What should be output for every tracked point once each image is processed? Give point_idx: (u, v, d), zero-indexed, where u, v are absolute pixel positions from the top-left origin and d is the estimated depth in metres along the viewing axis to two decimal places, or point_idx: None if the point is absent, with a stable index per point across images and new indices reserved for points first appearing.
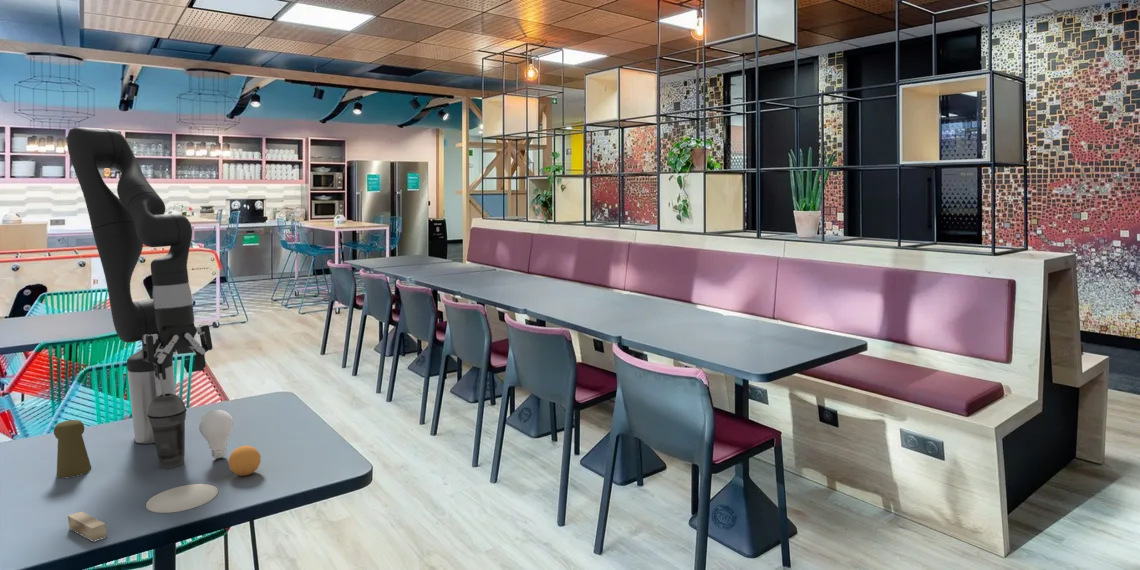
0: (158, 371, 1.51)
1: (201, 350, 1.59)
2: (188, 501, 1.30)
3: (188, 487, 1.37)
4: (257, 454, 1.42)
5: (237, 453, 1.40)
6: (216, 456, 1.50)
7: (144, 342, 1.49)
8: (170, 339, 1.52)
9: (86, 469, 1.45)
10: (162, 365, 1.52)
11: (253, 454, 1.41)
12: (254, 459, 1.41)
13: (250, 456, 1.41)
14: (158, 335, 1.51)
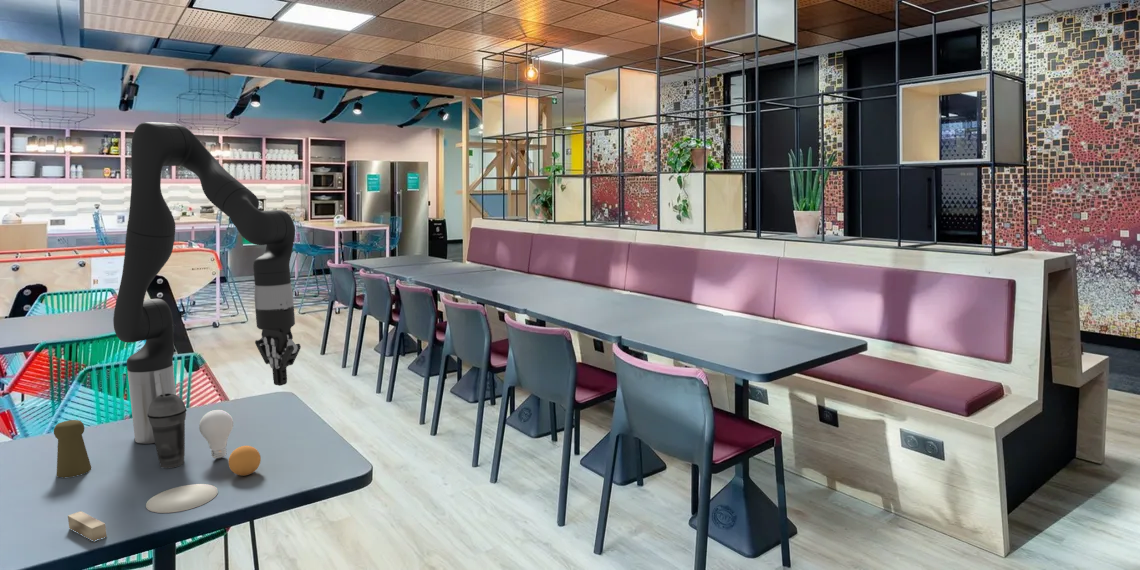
0: None
1: None
2: (188, 501, 1.30)
3: (188, 487, 1.37)
4: (257, 454, 1.42)
5: (237, 453, 1.40)
6: (216, 456, 1.50)
7: (293, 352, 1.44)
8: None
9: (86, 469, 1.45)
10: None
11: (253, 454, 1.41)
12: (254, 459, 1.41)
13: (250, 456, 1.41)
14: (291, 339, 1.45)
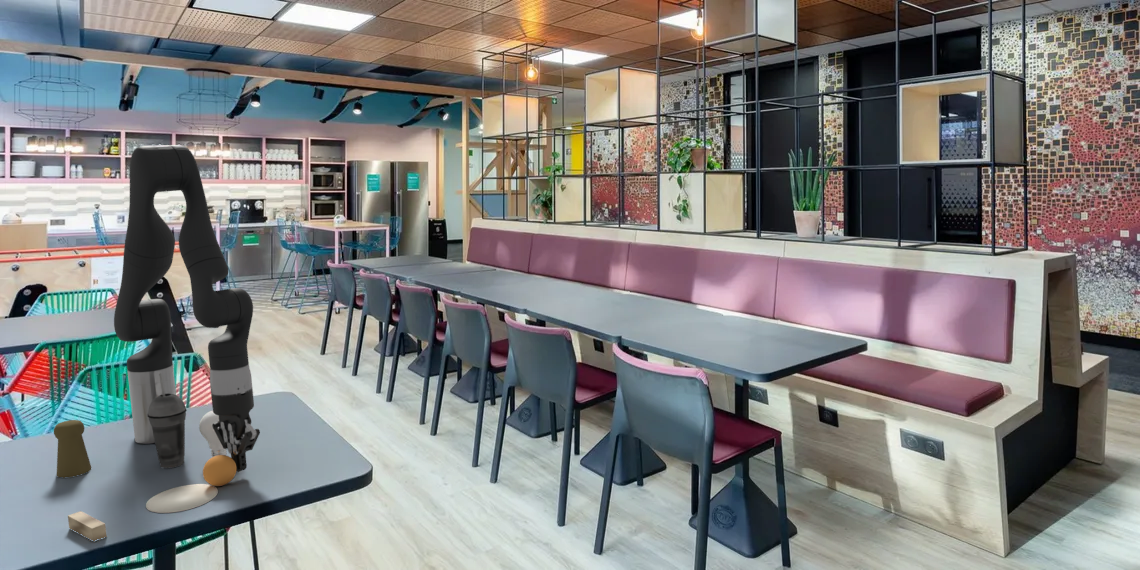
0: None
1: None
2: (188, 501, 1.30)
3: (188, 487, 1.37)
4: (223, 465, 1.36)
5: (208, 480, 1.35)
6: None
7: (252, 438, 1.37)
8: None
9: (86, 469, 1.45)
10: None
11: (221, 470, 1.35)
12: (226, 472, 1.36)
13: (221, 475, 1.35)
14: (250, 424, 1.38)
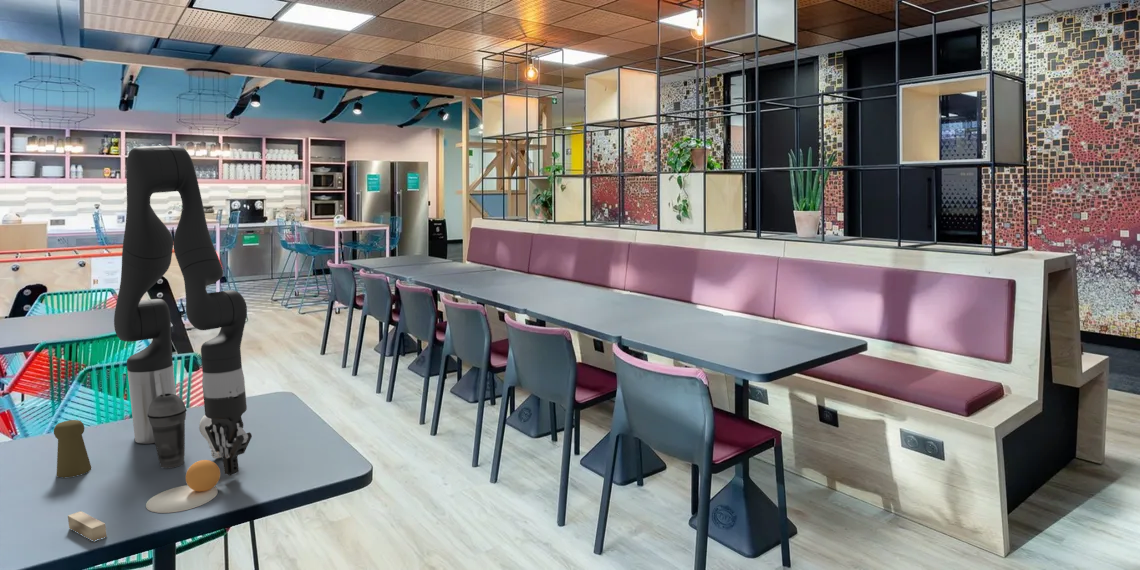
0: None
1: None
2: (188, 501, 1.30)
3: (188, 487, 1.37)
4: (200, 478, 1.32)
5: None
6: (216, 456, 1.50)
7: (243, 442, 1.36)
8: None
9: (86, 469, 1.45)
10: None
11: (203, 482, 1.33)
12: (208, 479, 1.33)
13: (207, 484, 1.33)
14: (242, 427, 1.37)
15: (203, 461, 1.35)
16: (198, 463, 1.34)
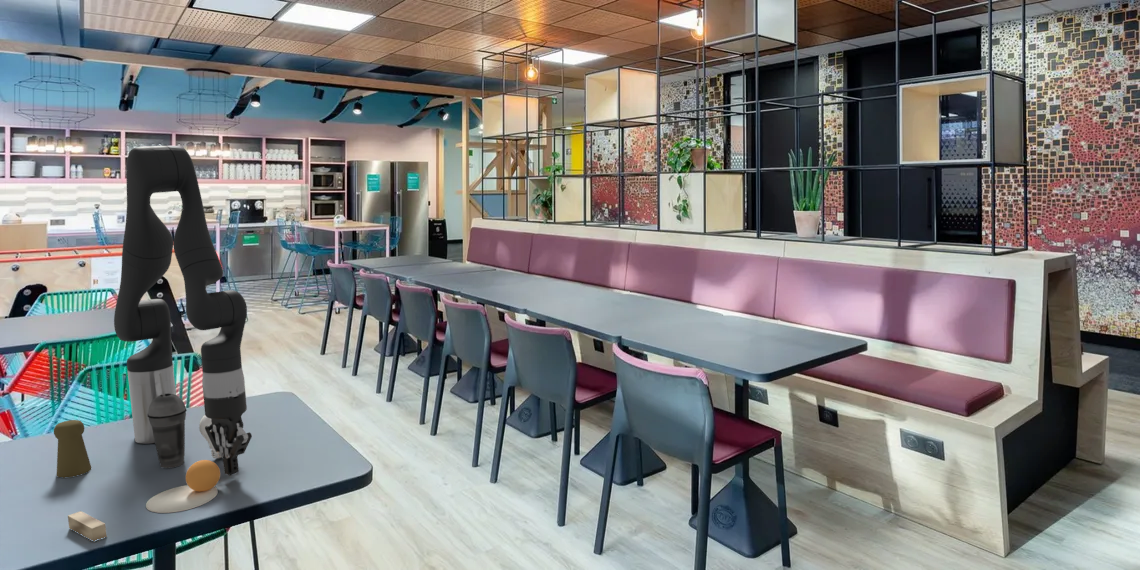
0: None
1: None
2: (188, 501, 1.30)
3: (188, 487, 1.37)
4: (200, 478, 1.32)
5: None
6: (216, 456, 1.50)
7: (243, 442, 1.36)
8: None
9: (86, 469, 1.45)
10: None
11: (203, 482, 1.33)
12: (208, 479, 1.33)
13: (207, 484, 1.33)
14: (242, 427, 1.37)
15: (203, 461, 1.35)
16: (198, 463, 1.34)
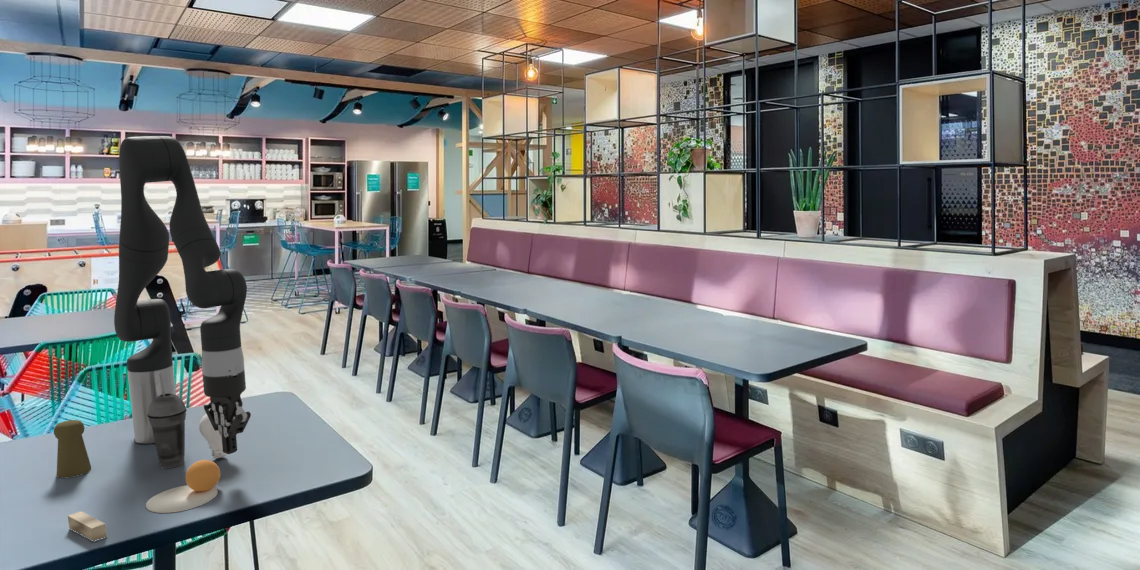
0: None
1: None
2: (188, 501, 1.30)
3: (188, 487, 1.37)
4: (200, 478, 1.32)
5: None
6: (216, 456, 1.50)
7: (242, 421, 1.36)
8: None
9: (86, 469, 1.45)
10: None
11: (203, 482, 1.33)
12: (208, 479, 1.33)
13: (207, 484, 1.33)
14: (241, 406, 1.37)
15: (203, 461, 1.35)
16: (198, 463, 1.34)
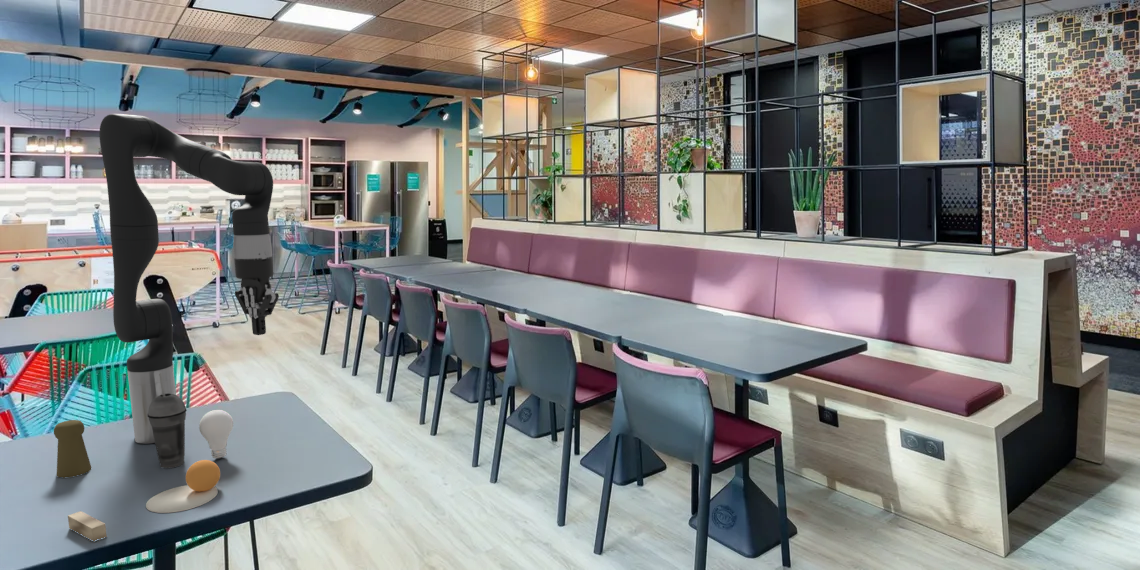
0: None
1: None
2: (188, 501, 1.30)
3: (188, 487, 1.37)
4: (200, 478, 1.32)
5: None
6: (216, 456, 1.50)
7: (271, 301, 1.47)
8: None
9: (86, 469, 1.45)
10: None
11: (203, 482, 1.33)
12: (208, 479, 1.33)
13: (207, 484, 1.33)
14: (269, 289, 1.48)
15: (203, 461, 1.35)
16: (198, 463, 1.34)
